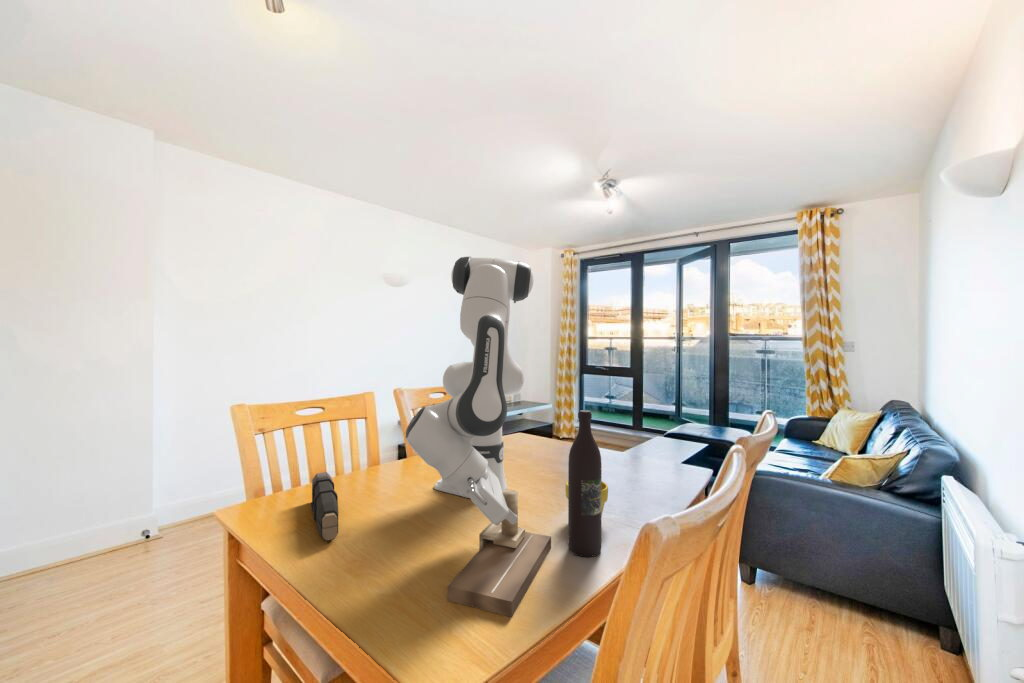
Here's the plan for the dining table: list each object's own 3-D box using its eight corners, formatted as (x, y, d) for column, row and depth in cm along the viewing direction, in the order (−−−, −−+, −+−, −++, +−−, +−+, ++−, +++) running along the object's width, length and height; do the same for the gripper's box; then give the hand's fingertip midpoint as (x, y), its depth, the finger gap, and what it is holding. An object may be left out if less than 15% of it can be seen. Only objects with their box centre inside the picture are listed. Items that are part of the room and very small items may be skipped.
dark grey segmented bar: (307, 563, 88) (303, 499, 114) (339, 562, 91) (329, 500, 117) (320, 514, 88) (314, 461, 114) (352, 515, 91) (339, 464, 117)
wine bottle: (579, 560, 83) (580, 414, 83) (562, 545, 90) (562, 409, 90) (608, 553, 86) (608, 412, 86) (589, 539, 93) (589, 407, 93)
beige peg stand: (479, 550, 86) (479, 494, 86) (490, 538, 91) (490, 484, 91) (515, 557, 83) (515, 499, 83) (525, 544, 88) (525, 489, 89)
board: (447, 600, 70) (447, 585, 70) (500, 538, 93) (500, 527, 93) (511, 617, 66) (511, 601, 66) (551, 547, 89) (551, 536, 89)
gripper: (481, 476, 75) (533, 526, 77) (475, 448, 96) (516, 487, 97) (457, 502, 75) (509, 551, 76) (456, 468, 95) (498, 507, 96)
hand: (513, 515), depth 87 cm, fingers closed on beige peg stand, 3 cm apart
